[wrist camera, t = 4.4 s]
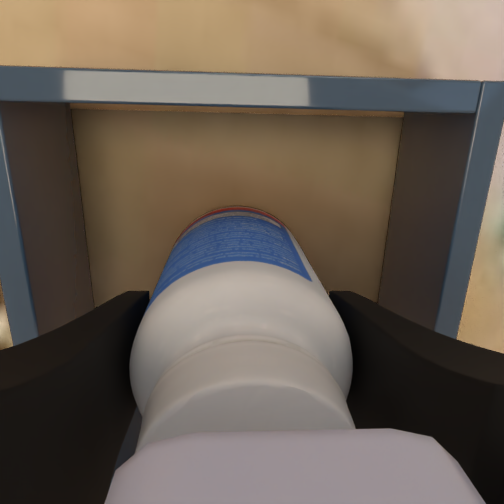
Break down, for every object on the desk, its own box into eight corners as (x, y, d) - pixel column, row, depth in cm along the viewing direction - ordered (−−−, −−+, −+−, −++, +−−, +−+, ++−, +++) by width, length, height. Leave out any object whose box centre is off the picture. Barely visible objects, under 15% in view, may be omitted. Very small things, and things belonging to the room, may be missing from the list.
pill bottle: (142, 263, 15) (7, 471, 6) (242, 174, 14) (262, 261, 5) (232, 350, 17) (233, 623, 8) (329, 274, 16) (463, 480, 7)
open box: (88, 406, 17) (42, 498, 13) (44, 83, 13) (-45, 63, 9) (379, 401, 18) (425, 486, 14) (427, 94, 14) (513, 81, 10)
